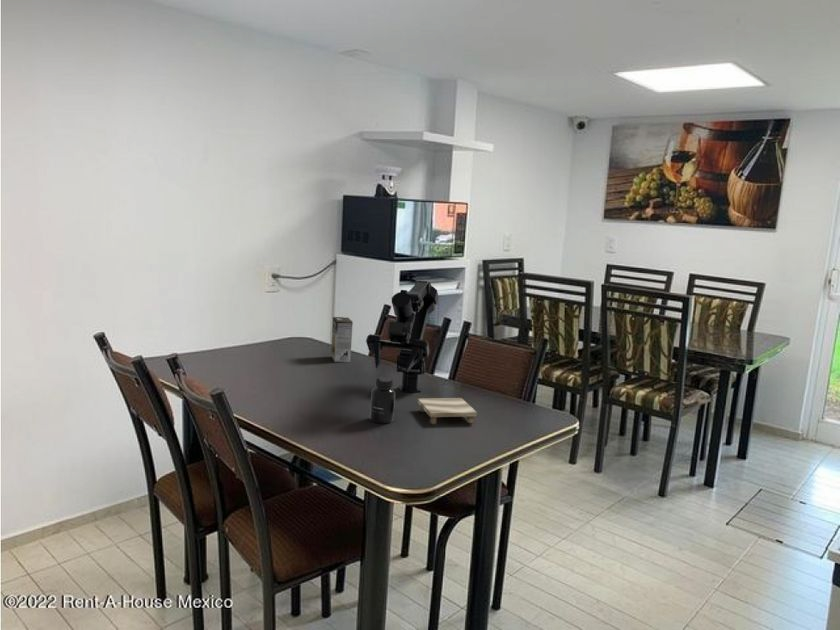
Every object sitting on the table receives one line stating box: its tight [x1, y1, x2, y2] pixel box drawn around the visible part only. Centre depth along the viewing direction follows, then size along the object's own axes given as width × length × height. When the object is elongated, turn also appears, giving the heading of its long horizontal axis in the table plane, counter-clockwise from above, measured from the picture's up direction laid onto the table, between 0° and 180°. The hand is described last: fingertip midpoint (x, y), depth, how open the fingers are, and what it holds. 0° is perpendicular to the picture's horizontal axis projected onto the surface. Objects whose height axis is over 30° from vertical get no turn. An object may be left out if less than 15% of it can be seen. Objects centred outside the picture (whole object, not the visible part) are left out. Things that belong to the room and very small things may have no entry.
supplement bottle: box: [369, 377, 396, 425], centre depth 182 cm, size 7×7×12 cm
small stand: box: [417, 397, 478, 425], centre depth 190 cm, size 14×14×4 cm
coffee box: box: [331, 316, 354, 363], centre depth 250 cm, size 9×6×16 cm
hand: (391, 369), depth 188 cm, fingers open, 9 cm apart
